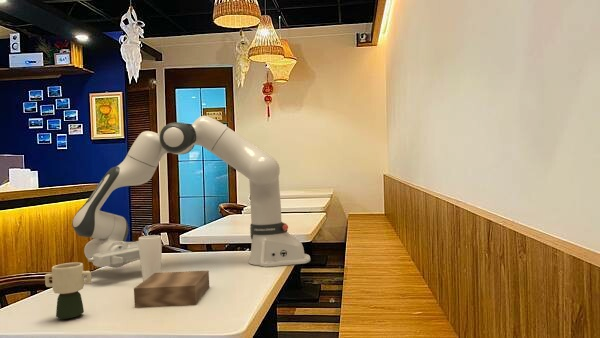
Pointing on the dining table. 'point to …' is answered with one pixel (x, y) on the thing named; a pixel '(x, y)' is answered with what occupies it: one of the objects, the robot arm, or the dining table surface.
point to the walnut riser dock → (172, 289)
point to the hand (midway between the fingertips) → (137, 257)
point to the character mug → (68, 288)
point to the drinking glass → (150, 255)
